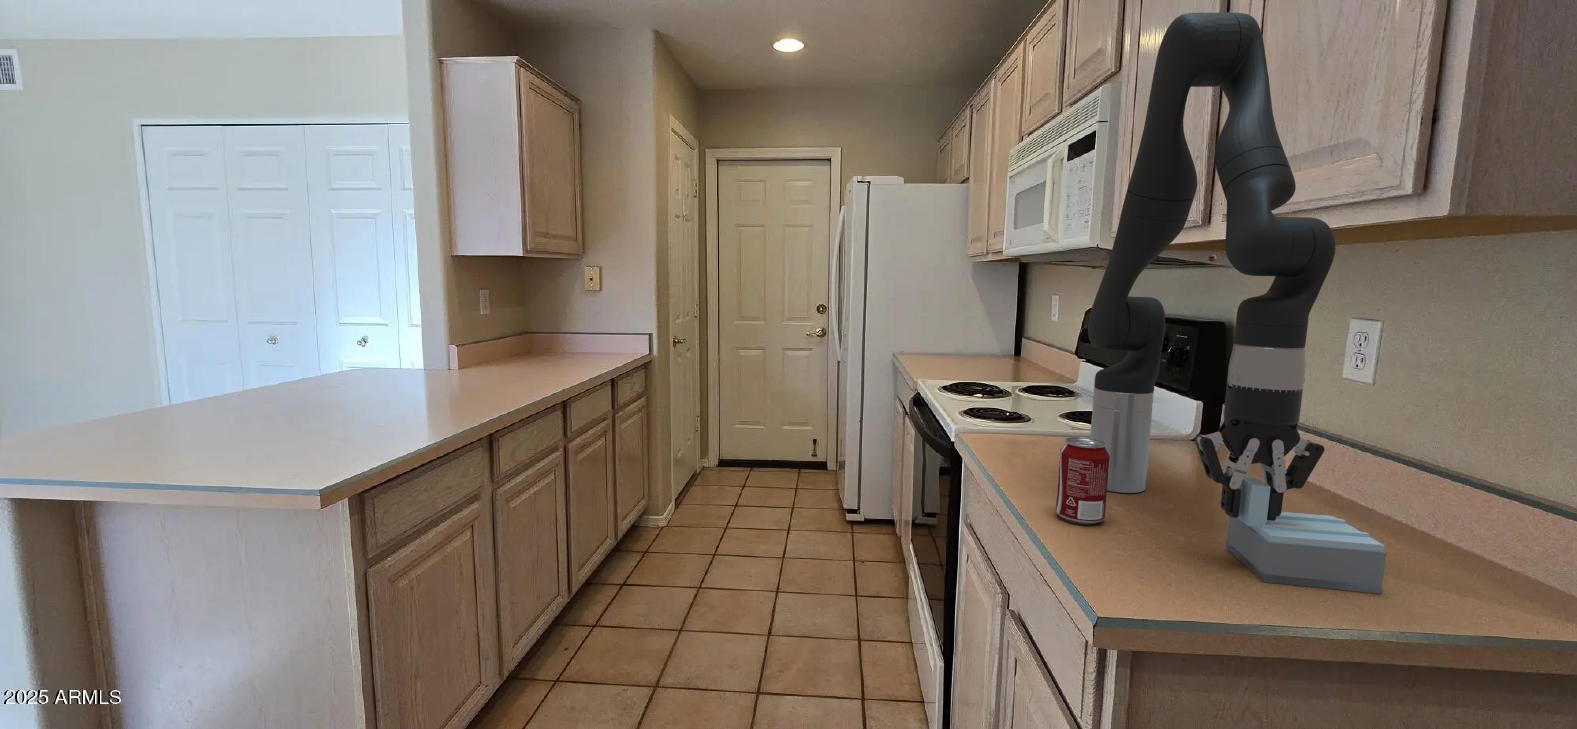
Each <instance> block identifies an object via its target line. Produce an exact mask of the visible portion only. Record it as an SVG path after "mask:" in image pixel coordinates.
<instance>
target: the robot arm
mask: <svg viewBox="0 0 1577 729" xmlns="http://www.w3.org/2000/svg"><path fill="white" fill-rule="evenodd" d="M1153 69H1154V71H1153V74H1152V75H1153V76H1152V80H1151V85H1150V86H1151V87H1150V91H1149V92H1150V93H1149V97H1148V105H1147V110H1146V116H1145V121H1144V126H1143V130H1142V135H1141V138H1140V143H1139V146H1138V151H1137V155H1136V157H1135V162H1134V165H1133V170H1132V172H1131V176H1130V179H1129V182H1128V185H1127V188H1126V189H1127V190H1126V193H1125V196H1124V199H1123V200H1124V201H1123V204H1122V207H1121V212H1120V215H1119V221H1118V226H1117V229H1116V234H1115V238H1114V241H1113V245H1112V249H1111V252H1110V256H1109V259H1108V262H1107V264H1106V268H1105V271H1104V273H1103V276H1102V278H1101V281H1100V284H1099V286H1098V290H1097V292H1096V295H1095V298H1094V301H1093V304H1092V306H1091V309H1090V313H1089V318H1088V326H1087V336H1088V339H1089V342H1090V344H1091V345H1092V346H1093V347H1094V348H1096V349H1100V350H1105V351H1107V350H1108V351H1127V353H1126V356H1125V357H1124V358H1123V359H1122V360H1121V361H1119V362H1118V363H1115V364H1113V365H1110V366H1108V367H1105V368H1103V369H1100V370H1098V371H1096V373H1095V375H1094V381H1093V382H1094V384H1093V396H1092V397H1093V399H1092V413H1091V425H1090V437H1089V438H1092V439H1097V440H1101V441H1103V442H1105V443H1106V446H1105V449H1106V450H1107V452H1108V454H1109V455H1110V460H1109V472H1108V484H1107V492H1108V491H1109V492H1114V493H1123V494H1136V493H1137V494H1138V493H1143V491H1145V489H1146V484H1147V473H1148V471H1147V470H1148V464H1149V462H1148V461H1149V452H1150V441H1151V440H1150V438H1151V429H1152V428H1151V426H1152V416H1153V415H1152V414H1153V404H1154V392H1155V385H1156V381H1157V379H1158V375H1159V372H1160V364H1161V358H1162V357H1161V356H1162V350H1163V344H1164V338H1165V331H1166V312H1165V309H1164V305H1163V304H1162V302H1161V301H1160V300H1159V299H1157V298H1156V297H1153V296H1152V297H1150V296H1129V295H1130V292H1131V291H1132V288H1133V286H1134V285H1135V282H1136V281H1137V279H1138V278H1139V276H1140V275H1141V273H1142V272H1143V271H1144V270H1145V269H1146V268H1148V266H1149V265H1150V264H1151V263H1152V262H1153V261H1154V260H1155V259H1156V258H1158V256H1159V255H1160V254H1162V252H1164V251H1165V250H1166V249H1167V248H1168V246H1170V245H1171V244H1172V242H1174V240H1176V238H1178V236H1179V235H1180V234H1181V232H1182V231H1183V229H1184V227H1185V226H1186V224H1187V221H1188V218H1189V214H1190V211H1191V209H1192V205H1193V202H1194V199H1195V196H1196V193H1197V188H1198V175H1197V170H1196V166H1195V163H1194V161H1193V157H1192V154H1191V151H1190V148H1189V146H1188V142H1187V139H1186V136H1185V130H1184V129H1185V128H1184V118H1185V112H1186V105H1187V101H1188V96H1189V94H1190V93H1189V92H1190V90H1191V88H1205V87H1206V88H1216V87H1219V88H1220V89H1221V90H1222V92H1223V94H1224V95H1225V97H1226V100H1227V102H1228V107H1229V110H1228V113H1227V118H1226V119H1225V122H1224V124H1223V127H1222V128H1221V131H1220V133H1219V136H1218V138H1217V141H1216V144H1215V149H1214V163H1215V168H1216V172H1217V176H1218V178H1219V182H1220V184H1221V185H1220V186H1221V189H1222V191H1223V194H1224V198H1225V200H1226V214H1225V216H1226V218H1225V219H1226V221H1225V222H1226V224H1225V227H1226V228H1225V241H1224V250H1225V253H1226V254H1225V255H1226V257H1227V259H1228V261H1229V263H1230V265H1231V266H1232V267H1233V268H1234V269H1235V270H1236V271H1237V272H1239V273H1240V274H1243V275H1246V276H1250V277H1251V276H1252V277H1274V278H1273V281H1272V282H1271V285H1270V286H1269V289H1268V290H1267V291H1266V293H1263V294H1261V295H1257V296H1252V297H1249V298H1245V299H1244V300H1242V301H1241V302H1240V303H1239V305H1238V307H1237V311H1236V312H1237V313H1236V319H1235V327H1234V338H1233V346H1232V351H1231V355H1230V358H1229V361H1228V362H1229V363H1228V371H1227V372H1228V373H1227V381H1226V390H1225V397H1224V400H1225V401H1224V410H1223V422H1222V424H1221V425H1220V426H1219V428H1218V431H1216V432H1212V433H1208V434H1202V433H1199V434H1196V435H1195V436H1194V441H1195V445H1196V448H1197V451H1198V455H1199V457H1200V459H1201V463H1202V466H1203V469H1204V473H1205V475H1206V476H1207V477H1208V478H1209V479H1211V480H1213V482H1215V483H1216V484H1220V485H1221V486H1222V487H1221V488H1222V489H1221V494H1220V495H1221V496H1220V497H1221V498H1220V508H1221V509H1222V510H1223V511H1224V513H1225V515H1227V516H1228V517H1229V518H1230V517H1233V518H1238V516H1239V508H1240V499H1241V490H1240V489H1238V488H1239V487H1240V485H1241V482H1242V479H1243V477H1244V476H1245V474H1247V473H1248V472H1249V469H1250V468H1251V465H1254V464H1260V467H1261V468H1262V470H1263V474H1264V481H1265V482H1264V483H1265V484H1267V485H1269V486H1271V487H1270V496H1269V505H1268V513H1267V520H1271V521H1275V520H1276V516H1280V514H1281V512H1283V511H1282V510H1283V509H1282V508H1283V503H1284V495H1285V492H1287V491H1288V490H1293V489H1296V490H1297V489H1298V490H1299V489H1302V488H1303V487H1305V484H1306V482H1307V481H1308V479H1309V478H1310V476H1311V474H1312V472H1313V471H1314V469H1315V467H1316V466H1317V464H1318V462H1319V461H1320V459H1321V457H1322V455H1323V454H1324V452H1325V450H1326V449H1325V447H1324V445H1322V444H1320V443H1317V442H1315V441H1312V440H1309V439H1304V438H1302V437H1301V435H1300V432H1299V430H1298V425H1299V422H1300V418H1301V408H1302V401H1303V391H1304V384H1305V382H1306V377H1305V375H1306V345H1307V344H1306V343H1307V335H1308V326H1309V317H1310V313H1311V311H1312V309H1313V307H1314V305H1315V302H1316V301H1317V298H1318V297H1319V294H1320V292H1321V289H1322V287H1323V285H1324V283H1325V280H1326V278H1327V276H1328V274H1329V272H1330V269H1331V267H1332V264H1333V262H1334V260H1335V254H1336V238H1335V235H1334V232H1333V230H1332V228H1331V227H1330V226H1329V224H1328V223H1327V222H1325V221H1324V220H1322V219H1320V218H1317V217H1309V216H1303V217H1302V216H1275V214H1274V212H1272V211H1274V210H1277V209H1279V208H1281V207H1283V206H1284V205H1285V204H1287V203H1289V201H1290V200H1291V199H1292V198H1293V196H1294V195H1295V193H1296V188H1297V186H1296V185H1297V184H1296V180H1295V176H1294V174H1293V171H1292V168H1291V166H1290V163H1289V160H1288V158H1287V155H1286V153H1285V150H1284V147H1283V144H1282V142H1281V139H1280V137H1279V133H1278V129H1277V126H1276V122H1275V117H1274V111H1273V104H1272V97H1271V85H1270V77H1269V72H1268V64H1267V57H1266V48H1265V43H1264V37H1263V34H1262V30H1261V27H1260V25H1259V23H1258V21H1257V20H1256V19H1255V17H1253V16H1252V15H1250V14H1248V13H1244V12H1188V13H1183V14H1180V15H1179V16H1177V17H1175V18H1174V20H1173V21H1172V22H1171V23H1170V24H1169V26H1168V27H1167V28H1166V31H1165V32H1164V35H1163V37H1162V40H1161V43H1160V46H1159V48H1158V51H1157V55H1156V60H1155V65H1154V68H1153ZM1221 442H1222V443H1223V444H1224V445H1225V447H1226V448H1227V450H1228V451H1227V452H1228V453H1227V455H1226V457H1225V461H1224V469H1223V468H1222V465H1221V462H1220V460H1219V456H1218V451H1219V450H1220V449H1221V448H1220V447H1221V446H1220V444H1221ZM1293 449H1294V456H1293V457H1292V460H1291V461H1290V462H1289V465H1288V466H1286V459H1285V457H1286V456H1287V455H1288V454H1289V453H1290V452H1291V451H1292V450H1293ZM1286 467H1287V468H1286Z"/></svg>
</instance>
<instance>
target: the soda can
mask: <svg viewBox="0 0 1577 729" xmlns="http://www.w3.org/2000/svg"><path fill="white" fill-rule="evenodd" d="M1105 446H1106V443H1105V442H1103V441H1101V440H1097V439H1092V438H1090V437H1086V436H1071V437H1069V436H1068V437H1066V438H1065V444H1064V445H1063V446H1062V447H1061V448H1060V450H1059V457H1058V458H1059V459H1058V460H1059V461H1058V471H1057V472H1058V474H1057V475H1058V476H1057V489H1056V502H1055V512H1056V514H1057V515H1058V516H1060V517H1061V518H1062V519H1063V520H1065V521H1068V522H1070V523H1072V522H1073V523H1072V524H1076V523H1077V525H1083V526H1086V525H1087V526H1089V525H1095V524H1098V523H1101V522H1102V521H1104V520H1105V517H1106V507H1107V496H1108V495H1107V493H1108V490H1107V484H1108V472H1109V460H1110V455H1109V454H1108V452H1107V450H1106V449H1105Z"/></svg>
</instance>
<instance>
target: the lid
mask: <svg viewBox="0 0 1577 729" xmlns="http://www.w3.org/2000/svg"><path fill="white" fill-rule="evenodd" d="M1270 487H1271V486H1269V485H1267V484H1266V483H1265V482H1264V481H1262V480H1260V479H1259V478H1257V477H1256V476H1246V475H1244V477H1243V479H1242V482H1241V485H1240V487H1239V488H1238V489H1240V490H1241V499H1240V508H1239V516H1238V519H1239V520H1240V521H1242V522H1243V523H1244V524H1246V525H1247V526H1249V527H1251V528H1252V529H1253V530H1255V531H1256V532H1257V533H1258V534H1260V535H1261V536H1262V537H1264V538H1265V539H1266V540H1268V541H1269V542H1277V543H1288V544H1300V545H1311V546H1322V547H1334V548H1345V549H1356V550H1368V551H1379V552H1383V551H1385V550H1384V549H1385V545H1384V544H1383V543H1381V542H1379V541H1377V540H1376V539H1374V538H1372V537H1371V536H1370V533H1368V532H1366V531H1360V530H1359V529H1357V528H1355V527H1353V526H1351V525H1350V524H1348V523H1347V520H1345V519H1343V518H1338V517H1336V516H1334V515H1328V514H1327V515H1326V514H1325V515H1324V514H1313V513H1301V512H1298V513H1297V512H1290V511H1289V512H1288V511H1281V514H1280V516H1276V520H1275V521H1271V520H1267V513H1268V505H1269V496H1270Z"/></svg>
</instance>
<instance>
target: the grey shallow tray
mask: <svg viewBox="0 0 1577 729" xmlns="http://www.w3.org/2000/svg"><path fill="white" fill-rule="evenodd" d="M1227 527H1228V528H1227V538H1226V546H1225V549H1226V550H1227V552H1230V554H1232V555H1233V556H1234V557H1235V558H1236V559H1237V560H1238V561H1239V562H1241V563H1242V564H1243V565H1244V566H1245V567H1246V568H1247V569H1248V570H1249V571H1250V572H1252V573H1253V574H1254V575H1255V576H1257V578H1259V580H1261V581H1262V582H1263V583H1270V584H1279V585H1289V586H1297V587H1298V586H1299V587H1307V588H1308V587H1309V588H1319V589H1328V590H1329V589H1330V590H1337V591H1338V590H1339V591H1350V592H1357V593H1358V592H1359V593H1369V594H1378V595H1379V594H1380V595H1381V593H1382V588H1383V587H1382V586H1383V581H1384V573H1385V567H1386V561H1387V552H1386V551H1385V550H1384V551H1383V552H1379V551H1368V550H1356V549H1345V548H1334V547H1322V546H1311V545H1300V544H1288V543H1277V542H1269V541H1268V540H1266V539H1265V538H1264V537H1262V536H1261V535H1260V534H1258V533H1257V532H1256V531H1255V530H1253V529H1252V528H1251V527H1249V526H1247V525H1246V524H1244V523H1243V522H1242V521H1240V520H1239V519H1238V518H1233V517H1230V516H1229V519H1228V526H1227Z"/></svg>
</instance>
